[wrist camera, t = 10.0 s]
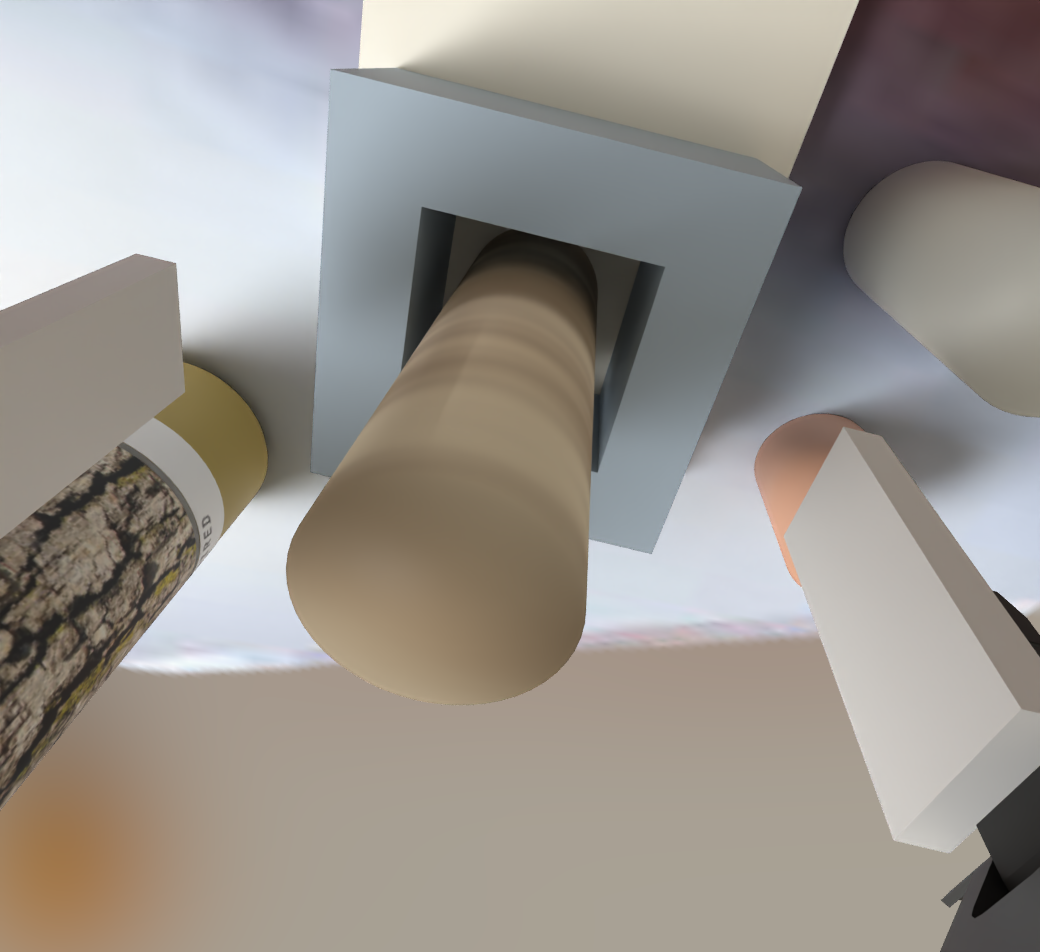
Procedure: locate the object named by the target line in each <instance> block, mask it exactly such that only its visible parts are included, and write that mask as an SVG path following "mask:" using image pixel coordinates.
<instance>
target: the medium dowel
mask: <svg viewBox="0 0 1040 952" xmlns="http://www.w3.org/2000/svg"><path fill="white" fill-rule="evenodd" d="M843 256H844V263H845V266H846V269H847V272H848V274H849V276H850V278H851V279H852V281H853V282H854V283H855V285H857V286H858V287H859V288H860V289H861V290H862V291H863V292H864V293H865V294H866V295H867V296H868V297H869V298H871V299H872V300H873V301H874V302H875V303H876V304H877V305H878V306H880V307H881V308H882V309H883V310H884V311H885V312H886V313H887V314H888V315H890V316H891V317H892V318H893V319H894V320H895V321H896V322H897V323H898V324H900V325H901V326H902V327H903V328H904V329H905V330H906V331H907V332H909V333H910V334H911V335H912V336H913V337H914V338H915V339H916V340H917V341H919V342H920V343H921V344H922V345H923V346H924V347H925V348H926V349H928V350H929V351H930V352H931V353H932V354H933V355H934V356H935V357H936V358H938V359H939V360H940V361H941V362H942V363H943V364H944V365H945V366H946V367H948V368H949V369H950V370H951V371H952V372H953V373H954V374H955V375H957V376H958V377H959V378H960V379H961V380H962V381H963V382H964V383H965V384H967V385H968V386H969V387H970V388H971V389H972V390H973V391H974V392H975V393H977V394H978V395H979V396H980V397H981V398H982V399H983V400H985V401H986V402H988V403H989V404H990V405H992V406H994V407H996V408H998V409H1000V410H1002V411H1005V412H1008V413H1011V414H1015V415H1020V416H1026V417H1040V188H1039V187H1035V186H1032V185H1028V184H1025V183H1022V182H1018V181H1015V180H1011V179H1008V178H1004V177H1001V176H997V175H994V174H990V173H987V172H984V171H980V170H977V169H973V168H970V167H966V166H963V165H959V164H956V163H952V162H946V161H927V162H921V163H917V164H913V165H910V166H907V167H904V168H902V169H900V170H898V171H896V172H894V173H892V174H891V175H889V176H888V177H886V178H884V179H883V180H882V181H881V182H879V183H878V184H877V185H876V186H874V187H873V188H872V189H871V190H870V191H869V192H868V193H867V195H866V196H865V197H864V198H863V199H862V200H861V202H860V203H859V205H858V206H857V208H856V209H855V211H854V213H853V215H852V217H851V218H850V221H849V223H848V226H847V229H846V233H845V237H844V244H843Z"/></svg>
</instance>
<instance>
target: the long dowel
mask: <svg viewBox="0 0 1040 952" xmlns="http://www.w3.org/2000/svg"><path fill="white" fill-rule="evenodd" d="M597 301H598V287H597V279H596V274H595V272H594V269H593V266H592V264H591V262H590V260H589V258H588V257H587V255H586V254H585V252H584V251H583V250H582V249H581V247H580V246H578V245H574V244H570V243H566V242H562V241H558V240H554V239H550V238H546V237H542V236H538V235H534V234H530V233H526V232H522V231H518V230H514V229H510V230H508V231H505V232H503V233H501V234H500V235H498V236H496V237H495V238H494V239H492V240H491V241H490V242H489V243H488V244H487V245H486V246H485V247H484V248H483V249H482V251H481V252H480V253H479V255H478V256H477V258H476V259H475V261H474V262H473V264H472V265H471V267H470V268H469V270H468V271H467V273H466V274H465V276H464V277H463V279H462V280H461V282H460V283H459V285H458V286H457V288H456V289H455V291H454V292H453V294H452V295H451V297H450V298H449V300H448V301H447V303H446V304H445V306H444V307H443V309H442V311H441V312H440V314H439V315H438V317H437V318H436V320H435V321H434V323H433V324H432V326H431V327H430V329H429V330H428V332H427V333H426V335H425V336H424V338H423V339H422V341H421V342H420V344H419V345H418V347H417V348H416V350H415V351H414V353H413V354H412V356H411V357H410V359H409V360H408V362H407V363H406V365H405V366H404V368H403V369H402V371H401V372H400V374H399V375H398V377H397V378H396V380H395V381H394V383H393V384H392V386H391V387H390V389H389V390H388V392H387V394H386V395H385V397H384V398H383V400H382V401H381V403H380V404H379V406H378V407H377V409H376V410H375V412H374V413H373V415H372V416H371V418H370V419H369V421H368V422H367V424H366V425H365V427H364V428H363V430H362V431H361V433H360V434H359V436H358V437H357V439H356V440H355V442H354V443H353V445H352V446H351V448H350V449H349V451H348V452H347V454H346V455H345V457H344V458H343V460H342V461H341V463H340V464H339V466H338V467H337V469H336V470H335V472H334V473H333V475H332V477H331V478H330V480H329V481H328V483H327V484H326V486H325V487H324V489H323V490H322V492H321V493H320V495H319V496H318V498H317V499H316V501H315V502H314V504H313V505H312V507H311V508H310V510H309V511H308V513H307V514H306V516H305V517H304V519H303V520H302V522H301V523H300V525H299V527H298V528H297V530H296V532H295V534H294V536H293V538H292V541H291V544H290V548H289V551H288V555H287V564H286V576H287V586H288V590H289V595H290V599H291V601H292V604H293V606H294V609H295V611H296V614H297V615H298V617H299V619H300V621H301V623H302V624H303V626H304V628H305V629H306V630H307V632H308V633H309V634H310V636H311V637H312V639H313V640H314V641H315V642H316V643H317V644H318V645H319V646H320V647H321V648H322V650H323V651H324V652H325V653H327V654H328V655H329V656H330V657H331V658H332V659H333V660H335V661H336V662H337V663H338V664H340V665H341V666H342V667H344V668H345V669H346V670H348V671H349V672H351V673H352V674H354V675H356V676H358V677H359V678H361V679H363V680H364V681H366V682H368V683H370V684H372V685H374V686H376V687H378V688H381V689H383V690H386V691H388V692H391V693H394V694H397V695H400V696H403V697H406V698H410V699H414V700H418V701H424V702H429V703H436V704H445V705H474V704H486V703H491V702H496V701H502V700H505V699H508V698H512V697H515V696H518V695H520V694H523V693H525V692H527V691H530V690H532V689H533V688H535V687H537V686H538V685H540V684H542V683H544V682H545V681H547V680H548V679H549V678H550V677H552V676H553V675H554V674H556V673H557V672H558V671H559V670H560V668H561V667H563V666H564V664H565V663H566V662H567V661H568V660H569V658H570V657H571V655H572V654H573V652H574V651H575V649H576V647H577V645H578V643H579V640H580V638H581V635H582V632H583V628H584V624H585V615H586V597H587V570H588V543H589V516H590V489H591V462H592V435H593V408H594V381H595V354H596V327H597Z"/></svg>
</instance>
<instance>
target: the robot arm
mask: <svg viewBox="0 0 1040 952" xmlns="http://www.w3.org/2000/svg"><path fill="white" fill-rule="evenodd" d="M183 393H185V382H184V368H183V354H182V340H181V326H180V312H179V298H178V284H177V269H176V263H173V262H168V261H164V260H160V259H156V258H152V257H148V256H144V255H140V254H134V255H132V256H130V257H127V258H125V259H122V260H120V261H118V262H115V263H113V264H111V265H108V266H106V267H103V268H101V269H99V270H96V271H94V272H92V273H89V274H87V275H84V276H82V277H80V278H77V279H75V280H73V281H70V282H68V283H65V284H63V285H61V286H58V287H56V288H54V289H51V290H49V291H46V292H44V293H42V294H39V295H37V296H35V297H32V298H30V299H27V300H25V301H23V302H20V303H18V304H16V305H13V306H11V307H8V308H6V309H4V310H1V311H0V539H1V538H2V537H4V536H5V535H6V534H7V533H9V532H10V531H11V530H12V529H14V528H15V527H16V526H18V525H19V524H20V523H21V522H23V521H24V520H25V519H26V518H28V517H29V516H30V515H31V514H33V513H34V512H35V511H36V510H38V509H39V508H40V507H41V506H43V505H44V504H45V503H46V502H48V501H49V500H50V499H51V498H53V497H54V496H55V495H56V494H58V493H59V492H60V491H61V490H63V489H64V488H65V487H66V486H68V485H69V484H70V483H72V482H73V481H74V480H75V479H77V478H78V477H79V476H80V475H82V474H83V473H84V472H85V471H87V470H88V469H89V468H90V467H92V466H93V465H94V464H95V463H97V462H98V461H99V460H100V459H102V458H103V457H104V456H105V455H107V454H108V453H109V452H110V451H112V450H113V449H114V448H115V447H117V446H118V445H119V444H120V443H122V442H123V441H124V440H126V439H127V438H128V437H129V436H131V435H132V434H133V433H134V432H136V431H137V430H138V429H139V428H141V427H142V426H143V425H144V424H146V423H147V422H148V421H149V420H151V419H152V418H153V417H154V416H156V415H157V414H158V413H159V412H161V411H162V410H163V409H164V408H166V407H167V406H168V405H169V404H171V403H172V402H173V401H174V400H176V399H177V398H178V397H180V396H181V395H182V394H183ZM784 539H785V542H786V544H787V547H788V550H789V553H790V555H791V558H792V561H793V564H794V566H795V569H796V572H797V575H798V578H799V580H800V583H801V586H802V589H803V591H804V594H805V597H806V600H807V602H808V605H809V608H810V611H811V613H812V616H813V619H814V622H815V624H816V627H817V630H818V633H819V635H820V638H821V641H822V644H823V646H824V649H825V652H826V655H827V658H828V660H829V663H830V666H831V668H832V671H833V674H834V677H835V680H836V682H837V685H838V688H839V691H840V693H841V696H842V699H843V702H844V704H845V707H846V710H847V712H848V715H849V718H850V721H851V724H852V726H853V729H854V732H855V735H856V737H857V740H858V743H859V746H860V749H861V751H862V754H863V757H864V760H865V762H866V765H867V768H868V770H869V773H870V776H871V779H872V782H873V784H874V787H875V790H876V793H877V795H878V798H879V801H880V804H881V806H882V809H883V811H884V815H885V817H886V820H887V823H888V826H889V828H890V831H891V834H892V837H893V840H895V841H899V842H903V843H907V844H911V845H916V846H920V847H924V848H929V849H933V850H937V851H941V852H946V853H950V852H952V851H953V850H954V849H955V848H956V847H957V846H958V845H959V844H960V843H961V842H962V841H963V840H964V839H965V838H966V837H968V836H969V835H970V834H971V833H972V832H973V831H974V830H975V829H976V828H978V830H979V832H980V834H981V836H982V838H983V840H984V842H985V845H986V847H987V849H988V851H989V853H990V855H991V856H990V857H989V858H988V859H987V860H986V861H985V862H983V863H982V864H981V865H980V866H979V867H978V868H977V869H975V870H974V871H973V872H972V873H971V874H970V875H969V876H967V877H966V878H965V879H964V880H963V881H962V882H960V883H959V884H958V885H957V886H956V887H955V888H954V889H952V890H951V891H950V892H949V893H948V894H947V895H946V896H945V897H944V898H943V899H942V900H941V901H942V902H944V903H945V904H946V905H947V906H948V907H951V906H952V905H953V904H954V903H956V902H957V901H958V900H962V901H961V903H960V906H959V908H958V911H957V913H956V915H955V918H954V920H953V922H952V925H951V927H950V930H949V932H948V934H947V936H946V939H945V941H944V943H943V946H942V948H941V951H940V952H1040V635H1039V634H1038V632H1037V631H1036V630H1035V628H1034V627H1033V626H1032V624H1031V623H1030V621H1029V620H1028V619H1027V618H1026V617H1025V616H1024V615H1023V614H1022V613H1021V612H1019V611H1018V610H1017V609H1016V608H1015V607H1014V606H1013V605H1012V604H1010V603H1009V602H1008V601H1007V600H1006V599H1005V598H1004V597H1002V596H1001V595H1000V594H999V593H998V592H995V591H992V590H991V588H990V587H989V586H988V584H987V583H986V581H985V580H984V579H983V577H982V576H981V574H980V573H979V572H978V570H977V569H976V567H975V566H974V565H973V563H972V562H971V560H970V559H969V558H968V556H967V555H966V553H965V552H964V551H963V549H962V548H961V546H960V545H959V544H958V542H957V541H956V539H955V538H954V537H953V535H952V534H951V532H950V531H949V530H948V528H947V527H946V525H945V524H944V523H943V521H942V520H941V518H940V517H939V516H938V514H937V513H936V511H935V510H934V509H933V507H932V506H931V504H930V503H929V502H928V500H927V499H926V497H925V496H924V495H923V493H922V492H921V490H920V489H919V488H918V486H917V485H916V483H915V482H914V481H913V479H912V478H911V476H910V475H909V474H908V472H907V471H906V469H905V468H904V467H903V465H902V464H901V462H900V461H899V460H898V458H897V457H896V455H895V454H894V453H893V451H892V450H891V448H890V447H889V446H888V444H887V443H886V441H885V440H884V439H883V437H882V436H880V435H875V434H871V433H867V432H863V431H859V430H855V429H851V428H847V427H843V428H842V430H841V432H840V434H839V436H838V437H837V439H836V441H835V443H834V445H833V447H832V448H831V450H830V452H829V454H828V456H827V458H826V459H825V461H824V463H823V465H822V467H821V469H820V470H819V472H818V474H817V476H816V478H815V480H814V481H813V483H812V485H811V487H810V489H809V491H808V492H807V494H806V496H805V498H804V500H803V502H802V503H801V505H800V507H799V509H798V511H797V513H796V514H795V516H794V518H793V520H792V522H791V524H790V525H789V527H788V529H787V531H786V533H785V534H784Z"/></svg>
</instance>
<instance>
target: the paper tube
mask: <svg viewBox="0 0 1040 952" xmlns="http://www.w3.org/2000/svg"><path fill="white" fill-rule="evenodd" d="M183 368H184V382H185V393H183V394H182V395H181V396H180V397H178V398H177V399H176V400H174V401H173V402H172V403H171V404H169V405H168V406H167V407H166V408H164V409H163V410H162V411H161V412H159V413H158V414H157V415H156V416H154V417H153V418H152V419H151V420H149V421H148V422H147V423H146V424H144V425H143V426H142V427H141V428H139V429H138V430H137V431H136V432H134V433H133V434H132V435H131V436H129V437H128V438H127V439H126V440H124V441H123V442H122V443H120V444H119V445H118V446H117V447H115V448H114V449H113V450H112V451H110V452H109V453H108V454H107V455H105V456H104V457H103V458H102V459H100V460H99V461H98V462H97V463H95V464H94V465H93V466H92V467H90V468H89V469H88V470H87V471H85V472H84V473H83V474H82V475H80V476H79V477H78V478H77V479H75V480H74V481H73V482H72V483H70V484H69V485H68V486H66V487H65V488H64V489H63V490H61V491H60V492H59V493H58V494H56V495H55V496H54V497H53V498H51V499H50V500H49V501H48V502H46V503H45V504H44V505H43V506H41V507H40V508H39V509H38V510H36V511H35V512H34V513H33V514H31V515H30V516H29V517H28V518H26V519H25V520H24V521H23V522H21V523H20V524H19V525H18V526H16V527H15V528H14V529H12V530H11V531H10V532H9V533H7V534H6V535H5V536H4V537H2V538H1V539H0V810H1V809H2V808H3V807H4V805H5V804H6V803H7V802H8V800H9V799H10V798H11V797H12V795H13V794H14V793H15V792H16V791H17V789H18V788H19V787H20V786H21V784H22V783H23V782H24V781H25V779H26V778H27V777H28V776H29V775H30V773H31V772H32V771H33V770H34V768H35V767H36V766H37V765H38V763H39V762H40V761H41V760H42V758H43V757H44V756H45V755H46V754H47V752H48V751H49V750H50V749H51V747H52V746H53V745H54V744H55V742H56V741H57V740H58V739H59V737H60V736H61V735H62V734H63V733H64V731H65V730H66V729H67V728H68V726H69V725H70V724H71V723H72V721H73V720H74V719H75V718H76V717H77V715H78V714H79V713H80V712H81V710H82V709H83V708H84V707H85V705H86V704H87V703H88V702H89V701H90V699H91V698H92V697H93V696H94V694H95V693H96V692H97V691H98V689H99V688H100V687H101V686H102V685H103V683H104V682H105V681H106V680H107V678H108V677H109V676H110V675H111V673H112V672H113V671H114V670H115V669H116V667H117V666H118V665H119V664H120V662H121V661H122V660H123V659H124V657H125V656H126V655H127V654H128V652H129V651H130V650H131V649H132V648H133V646H134V645H135V644H136V643H137V641H138V640H139V639H140V638H141V636H142V635H143V634H144V633H145V632H146V630H147V629H148V628H149V627H150V625H151V624H152V623H153V622H154V620H155V619H156V618H157V617H158V616H159V614H160V613H161V612H162V611H163V609H164V608H165V607H166V606H167V604H168V603H169V602H170V601H171V599H172V598H173V597H174V596H175V595H176V593H177V592H178V591H179V590H180V588H181V587H182V586H183V585H184V583H185V582H186V581H187V580H188V579H189V577H190V576H191V575H192V574H193V572H194V571H195V570H196V569H197V567H198V566H199V565H200V564H201V563H202V561H203V560H204V559H205V558H206V556H207V555H208V554H209V553H210V551H211V550H212V549H213V548H214V546H215V545H216V544H217V542H218V540H219V539H220V538H221V537H222V536H223V534H224V533H225V532H226V531H227V529H228V528H229V527H230V526H231V524H232V523H233V522H234V521H235V520H236V518H237V517H238V516H239V515H240V513H241V512H242V511H243V510H244V508H245V507H246V506H247V505H248V504H249V502H250V501H251V500H252V499H253V497H254V496H255V495H256V494H257V492H258V491H259V489H260V487H261V485H262V483H263V481H264V478H265V476H266V472H267V465H268V453H267V446H266V442H265V438H264V435H263V432H262V429H261V427H260V424H259V422H258V420H257V418H256V417H255V415H254V413H253V412H252V410H251V409H250V407H249V406H248V405H247V403H246V402H245V401H244V400H243V399H242V397H241V396H240V395H239V394H238V393H237V392H236V391H235V390H233V389H232V388H231V387H230V386H229V385H228V384H226V383H225V382H224V381H222V380H221V379H219V378H218V377H216V376H215V375H213V374H211V373H209V372H207V371H206V370H204V369H201V368H199V367H197V366H194V365H191V364H188V363H185V362H183Z"/></svg>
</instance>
